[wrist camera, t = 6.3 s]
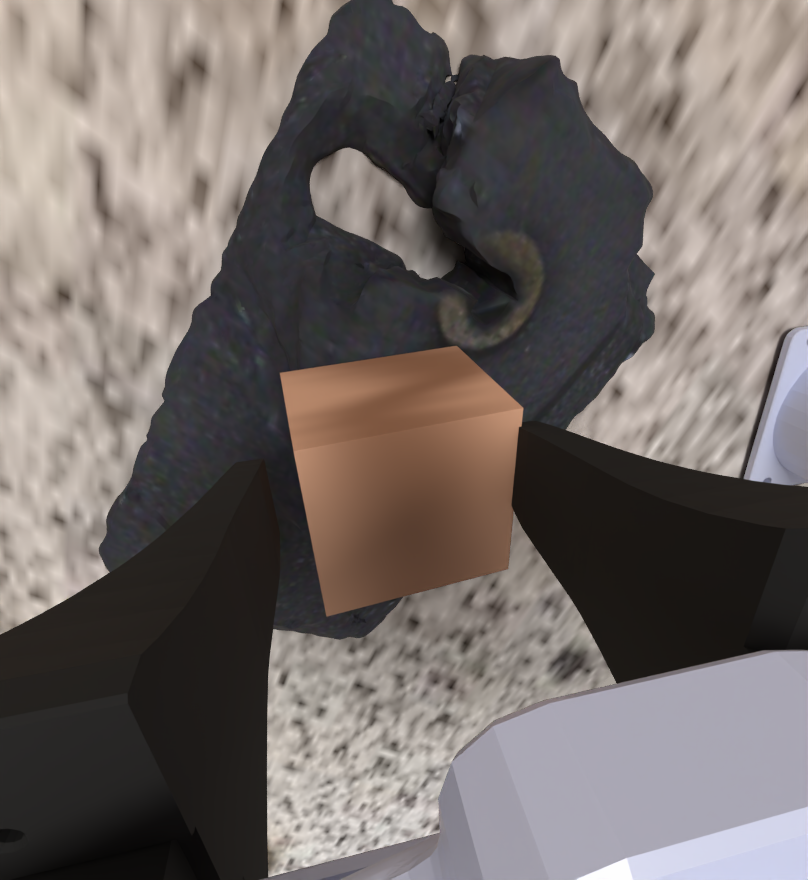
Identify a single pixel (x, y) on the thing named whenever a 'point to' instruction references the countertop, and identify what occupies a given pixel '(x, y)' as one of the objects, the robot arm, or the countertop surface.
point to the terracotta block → (403, 473)
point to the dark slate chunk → (399, 273)
